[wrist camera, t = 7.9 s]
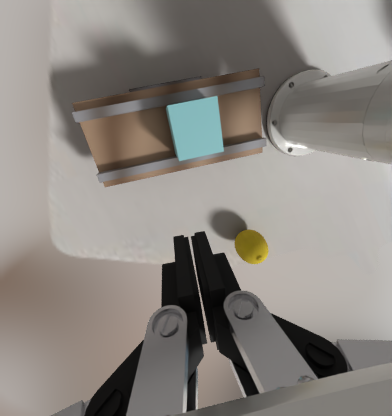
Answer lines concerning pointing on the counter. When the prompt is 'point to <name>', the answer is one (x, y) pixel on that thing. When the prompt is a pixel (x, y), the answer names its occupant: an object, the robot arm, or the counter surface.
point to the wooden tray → (159, 126)
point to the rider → (195, 128)
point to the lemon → (251, 246)
